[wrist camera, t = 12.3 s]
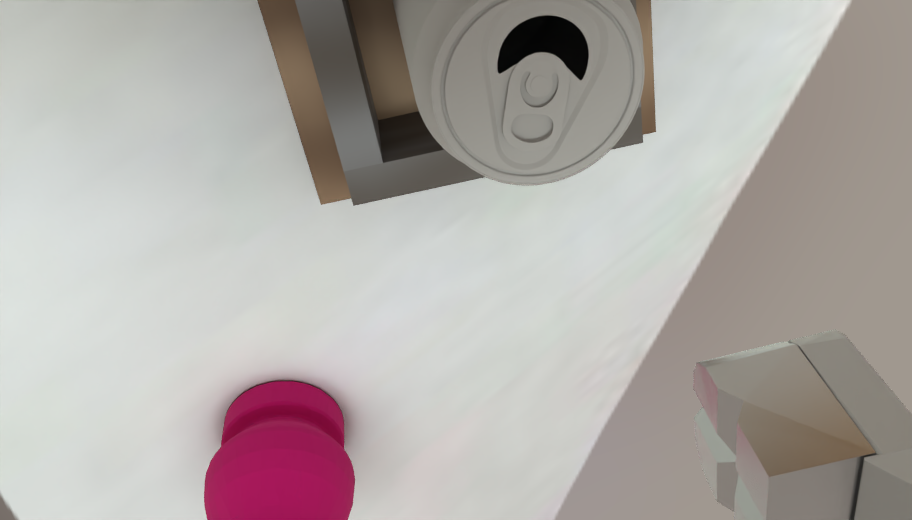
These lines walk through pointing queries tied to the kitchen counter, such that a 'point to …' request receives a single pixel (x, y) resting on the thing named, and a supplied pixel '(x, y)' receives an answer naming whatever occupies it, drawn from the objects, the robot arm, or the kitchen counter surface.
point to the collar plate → (377, 99)
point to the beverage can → (524, 81)
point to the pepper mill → (281, 458)
